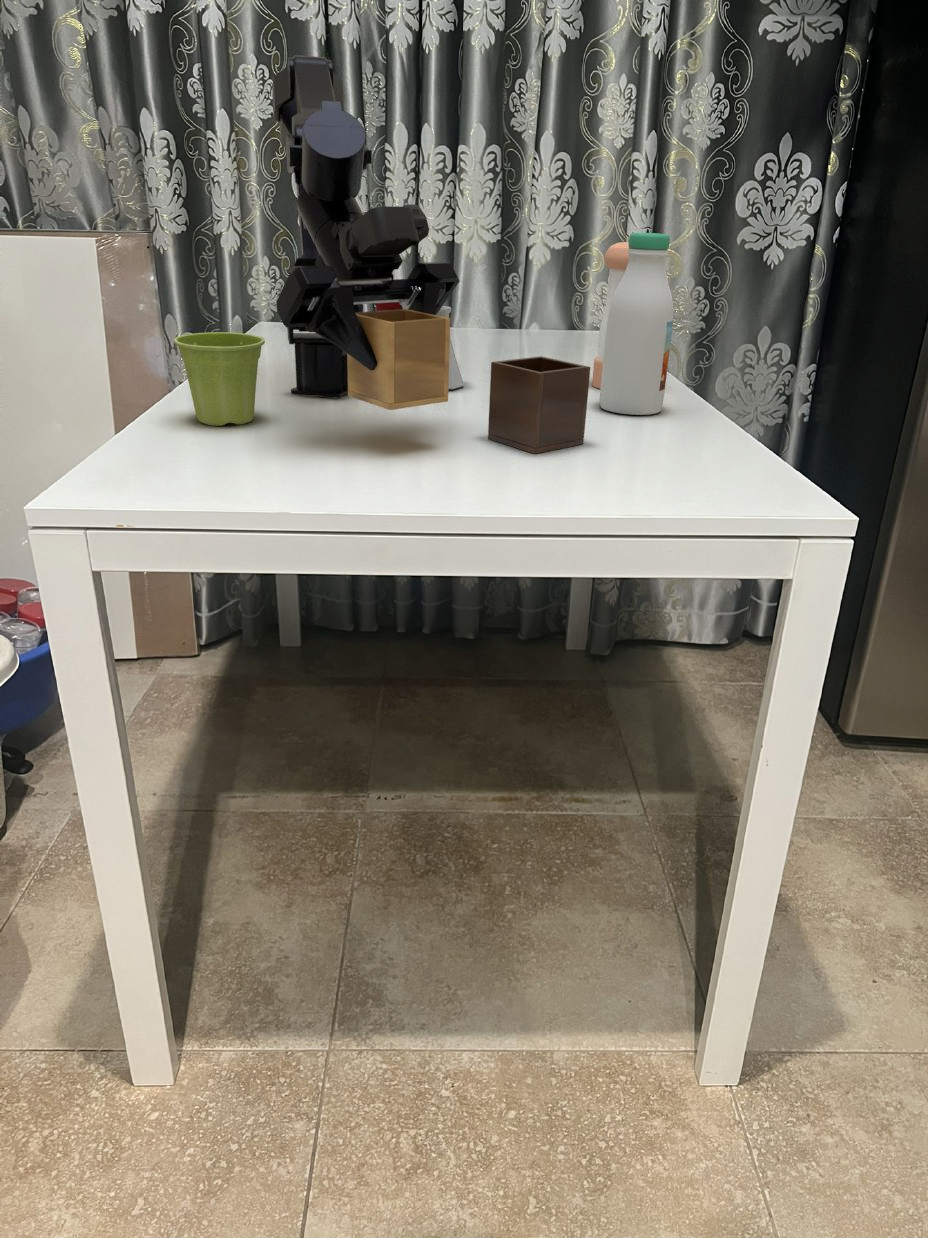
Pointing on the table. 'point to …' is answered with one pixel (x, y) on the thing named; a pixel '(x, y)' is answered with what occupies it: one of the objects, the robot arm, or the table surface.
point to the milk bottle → (639, 331)
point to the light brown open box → (403, 359)
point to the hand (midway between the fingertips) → (406, 364)
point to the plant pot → (221, 374)
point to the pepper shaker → (610, 299)
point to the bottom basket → (538, 403)
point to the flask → (452, 357)
